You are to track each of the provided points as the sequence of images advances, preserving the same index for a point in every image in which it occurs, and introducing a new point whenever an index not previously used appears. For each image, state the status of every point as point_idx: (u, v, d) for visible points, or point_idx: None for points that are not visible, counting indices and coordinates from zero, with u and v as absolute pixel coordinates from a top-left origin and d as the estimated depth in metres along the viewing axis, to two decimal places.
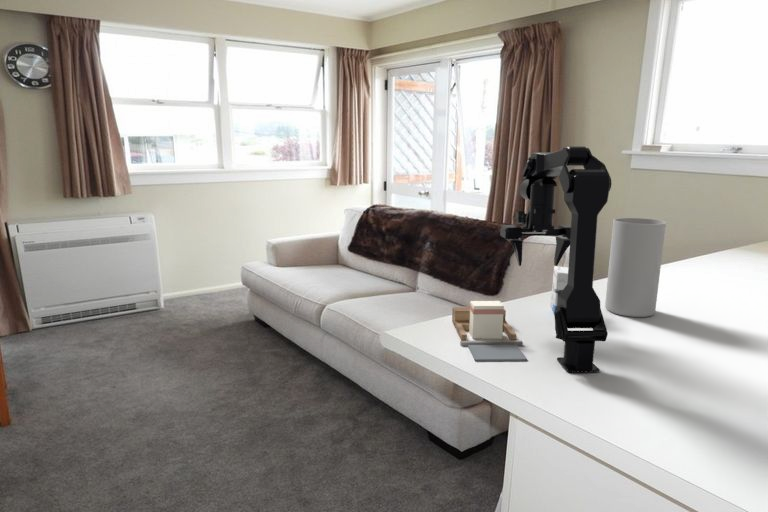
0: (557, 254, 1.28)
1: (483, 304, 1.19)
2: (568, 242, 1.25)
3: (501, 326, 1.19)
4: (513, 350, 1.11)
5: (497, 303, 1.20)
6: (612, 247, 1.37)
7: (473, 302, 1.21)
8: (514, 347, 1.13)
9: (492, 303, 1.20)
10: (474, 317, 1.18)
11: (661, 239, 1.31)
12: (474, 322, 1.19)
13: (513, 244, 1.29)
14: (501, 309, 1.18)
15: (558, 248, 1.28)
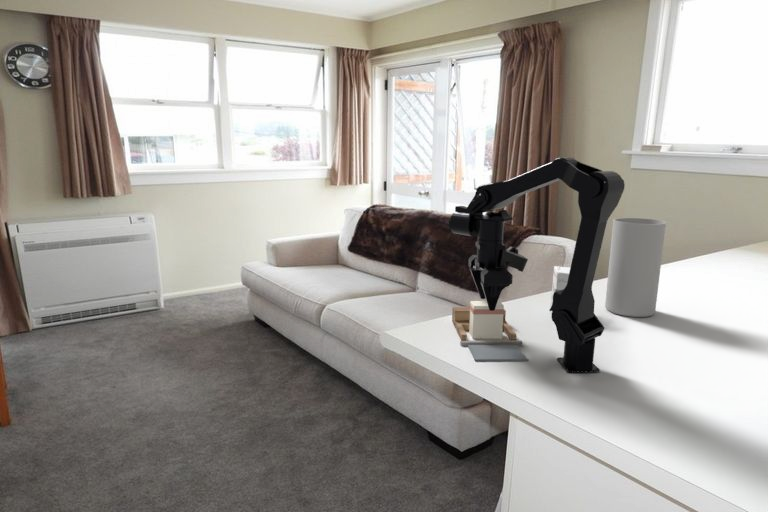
0: None
1: (483, 304, 1.19)
2: (482, 284, 1.12)
3: (501, 326, 1.19)
4: (513, 350, 1.11)
5: (497, 303, 1.20)
6: (612, 247, 1.37)
7: (473, 302, 1.21)
8: (514, 347, 1.13)
9: None
10: (474, 317, 1.18)
11: (661, 239, 1.31)
12: (474, 322, 1.19)
13: None
14: (501, 309, 1.18)
15: None
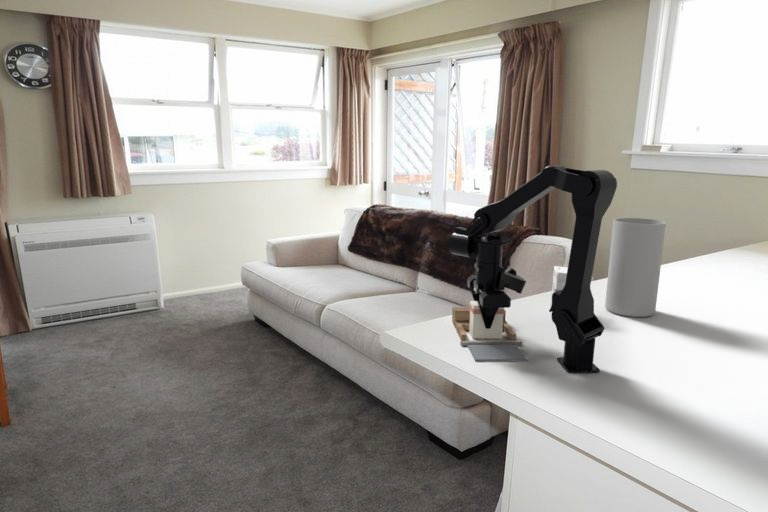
0: None
1: None
2: (478, 304, 1.16)
3: (501, 326, 1.19)
4: (513, 350, 1.11)
5: None
6: (612, 247, 1.37)
7: (473, 302, 1.21)
8: (514, 347, 1.13)
9: None
10: (474, 317, 1.18)
11: (661, 239, 1.31)
12: (474, 322, 1.19)
13: None
14: (501, 309, 1.18)
15: None
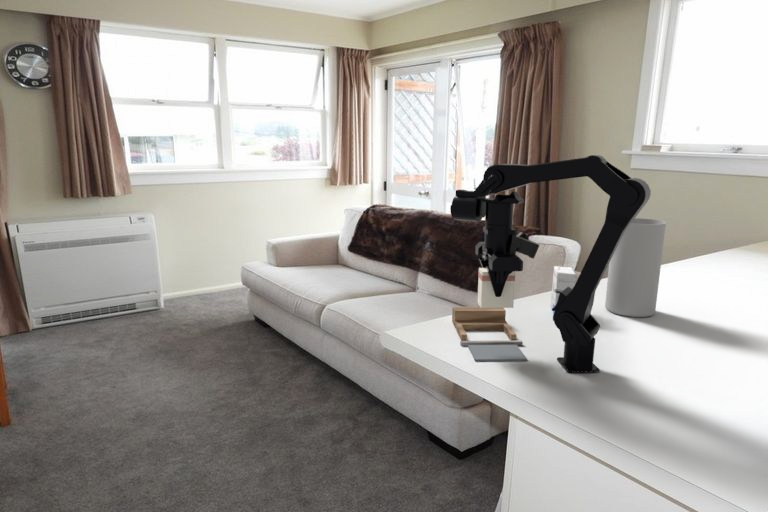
0: None
1: None
2: (487, 269, 1.07)
3: (512, 294, 1.10)
4: (513, 350, 1.11)
5: None
6: None
7: (482, 269, 1.12)
8: (514, 347, 1.13)
9: None
10: (483, 284, 1.09)
11: (661, 239, 1.31)
12: (483, 290, 1.10)
13: None
14: (512, 276, 1.09)
15: None
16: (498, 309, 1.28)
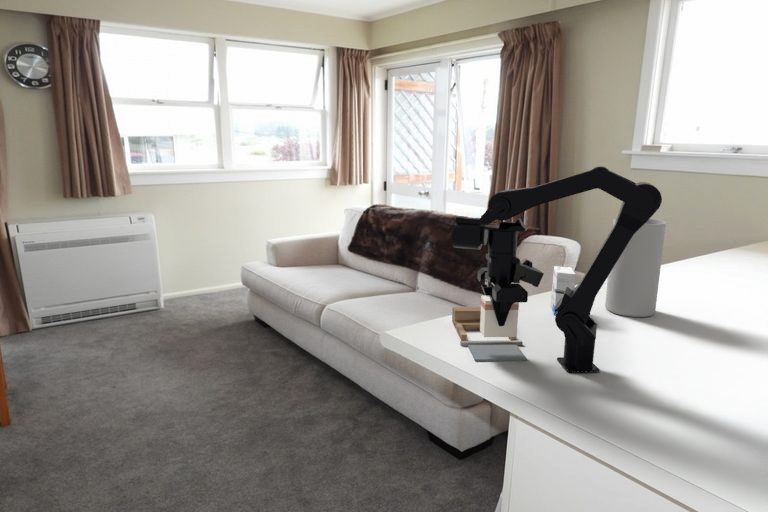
0: None
1: None
2: (490, 298, 1.04)
3: (516, 323, 1.07)
4: (513, 350, 1.11)
5: None
6: None
7: (484, 297, 1.09)
8: (514, 347, 1.13)
9: None
10: (486, 313, 1.07)
11: (661, 239, 1.31)
12: (486, 319, 1.07)
13: None
14: (516, 305, 1.06)
15: None
16: None
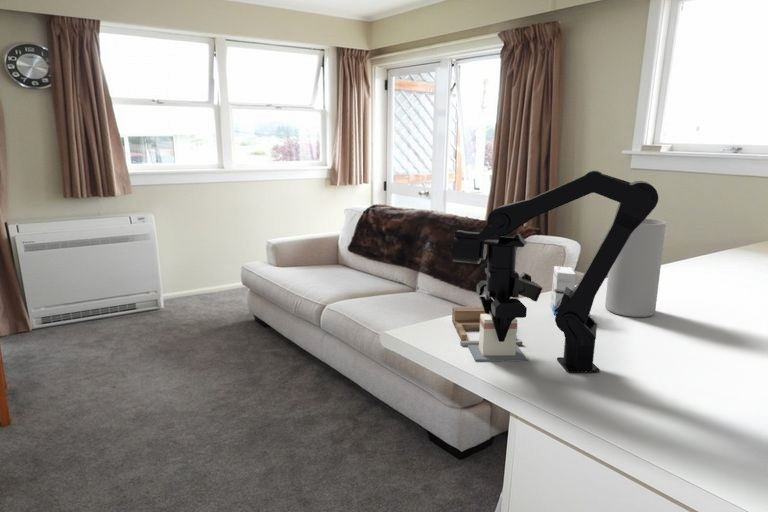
0: None
1: None
2: (491, 314, 1.04)
3: (514, 342, 1.08)
4: None
5: None
6: None
7: (483, 315, 1.10)
8: None
9: None
10: (485, 332, 1.08)
11: (661, 239, 1.31)
12: (485, 337, 1.08)
13: None
14: (514, 323, 1.07)
15: None
16: None
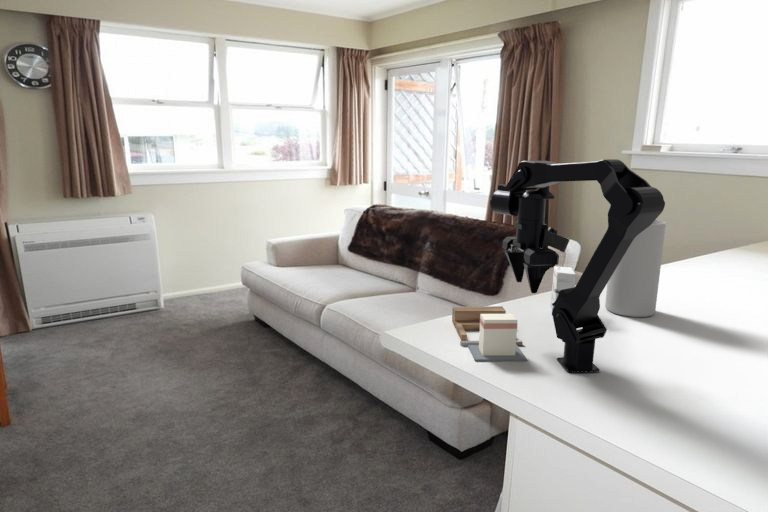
0: None
1: (494, 317, 1.08)
2: (525, 265, 1.07)
3: (514, 342, 1.08)
4: None
5: (510, 316, 1.09)
6: None
7: (483, 315, 1.10)
8: None
9: (504, 316, 1.09)
10: (485, 332, 1.08)
11: (661, 239, 1.31)
12: (485, 337, 1.08)
13: None
14: (514, 323, 1.07)
15: None
16: (498, 309, 1.28)
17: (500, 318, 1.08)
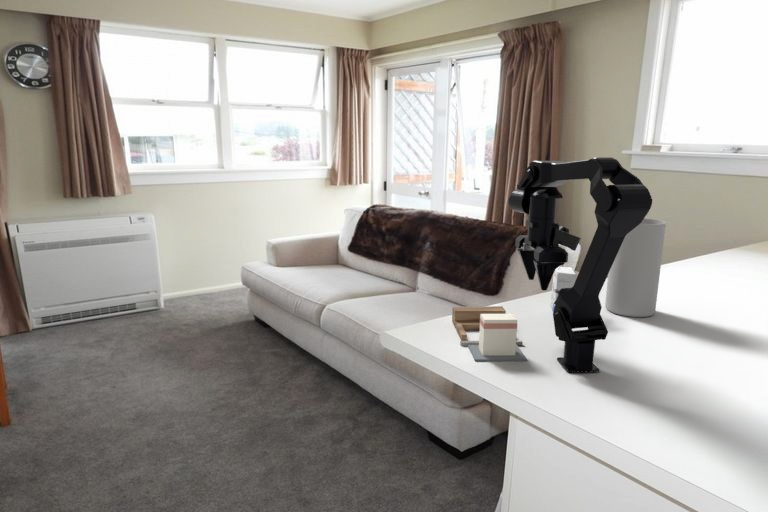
0: None
1: (494, 317, 1.08)
2: (535, 263, 1.10)
3: (514, 342, 1.08)
4: None
5: (510, 316, 1.09)
6: None
7: (483, 315, 1.10)
8: None
9: (504, 316, 1.09)
10: (485, 332, 1.08)
11: (661, 239, 1.31)
12: (485, 337, 1.08)
13: None
14: (514, 323, 1.07)
15: None
16: (498, 309, 1.28)
17: (500, 318, 1.08)
